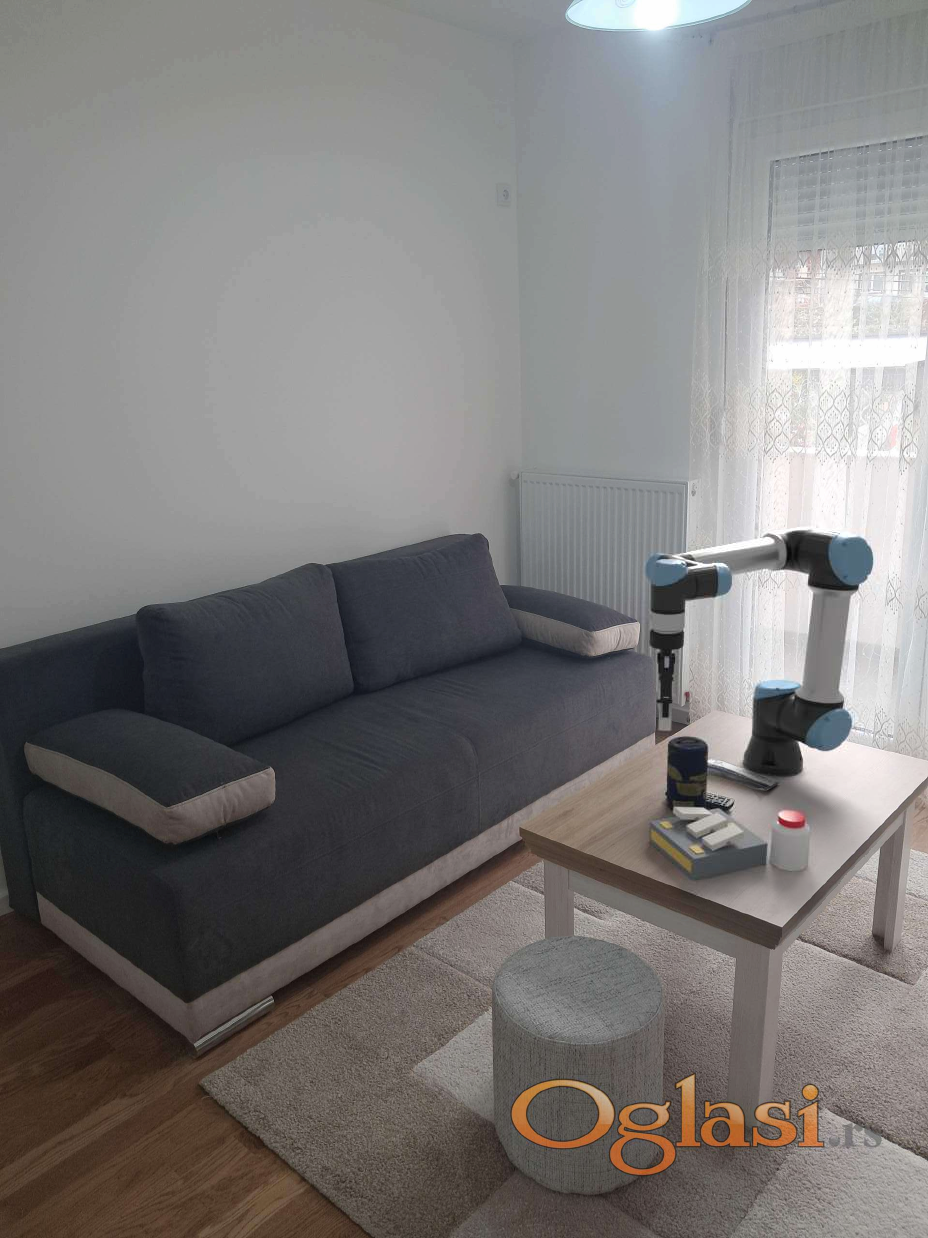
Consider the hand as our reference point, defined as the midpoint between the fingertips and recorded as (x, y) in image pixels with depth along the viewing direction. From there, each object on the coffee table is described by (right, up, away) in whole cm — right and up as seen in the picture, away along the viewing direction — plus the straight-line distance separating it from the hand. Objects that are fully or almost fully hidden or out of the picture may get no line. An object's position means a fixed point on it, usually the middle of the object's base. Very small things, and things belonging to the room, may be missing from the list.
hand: (664, 719), depth 214 cm
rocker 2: (+8, -23, -9) cm, 26 cm away
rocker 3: (+10, -24, -15) cm, 30 cm away
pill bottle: (+24, -30, -12) cm, 40 cm away
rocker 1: (+6, -21, -4) cm, 22 cm away
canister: (+8, -23, +14) cm, 28 cm away
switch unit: (+8, -29, -7) cm, 31 cm away
